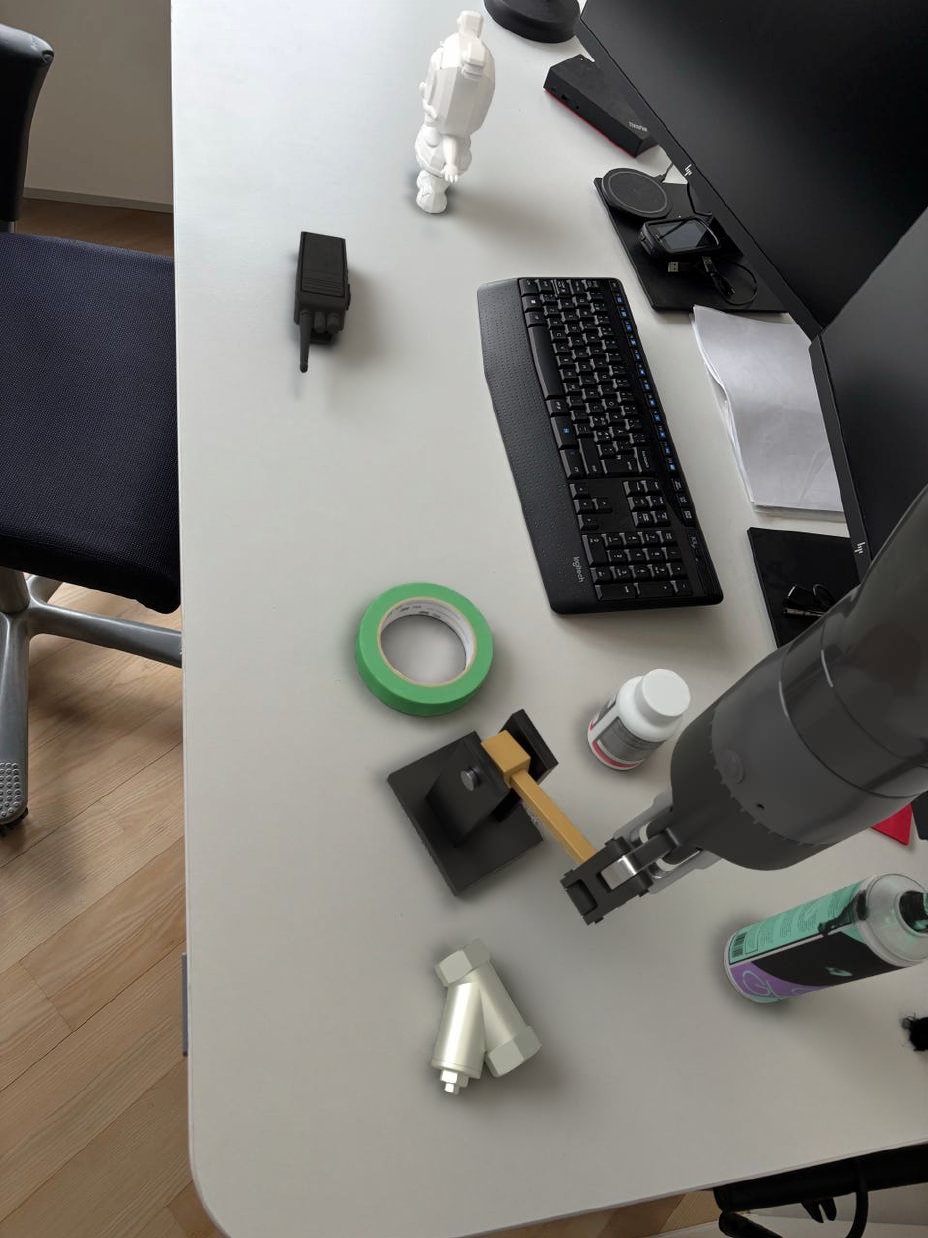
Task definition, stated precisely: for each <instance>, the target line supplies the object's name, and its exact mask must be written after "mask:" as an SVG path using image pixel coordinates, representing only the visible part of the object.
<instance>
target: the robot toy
mask: <svg viewBox="0 0 928 1238" xmlns="http://www.w3.org/2000/svg"><path fill="white" fill-rule="evenodd" d="M483 25H484V16H483V14H481V13H480V12H476V11H473V10H469V9H465V10H461V13H460V16H458V17H457V19H456V26H457V28H458V30H457V31H456V32H454V33H453V34H451V35H450V36H448V37H446V38H445V40H444V41H442V40H440V42H439V48H438V49H437V50H435V51H433V53H432V55H431V57H430V60H429V65H428V69H427V72H426V79H425V81H421V83H420V84H419V86H418V91H419V92H418V93H419V94H420V96H421V97H422V107H423V111H424V121H423V124H422V126H421V127H420V130H419V131H418V133H417V136H416V139H415V142H414V154H415V160H416V162H417V163H418V165H419V166H420V168H421V169H422V170H420V172H419V174H418V177H417V179H416V186H417V189H418V190H419V191H418V193H417V195H416V204H417V206H418V207H420V208H421V209H422V211H424V212H426V213H429V214H441V213H442V212H444V211H445V210H446V208H447V204H448V198H447V195H446V194H445V192H446V190H447V188H448V187H449V186H450V185H451V184H454V183H456V184H458V183H459V181H460V176H461V175H463V174H465V173H466V172H467V171H468V169H469V167H470V165H471V163H472V160H473V155H472V151H471V145H472V138H471V136H472V135H473V134H475V133H476V132H477V131H478V130H480V129H481V128H482V127H483V124H484V122H485V120H486V117H487V116H488V112H489V110H490V107H491V104H492V102H493V98H494V95H495V90H496V66H495V62H496V61H495V59H494V58H495V57H493V54H492V52H491V50H490V48H489V47H488V45H487V44H486V43H485V42H484V41H483V40H482V39H481V37H480V36H482V31H483Z"/></svg>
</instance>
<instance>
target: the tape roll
mask: <svg viewBox="0 0 928 1238" xmlns="http://www.w3.org/2000/svg"><path fill="white" fill-rule="evenodd" d="M480 611H481V610H479V609H478V607H476V605H475V604H474V603H472V602H471V601H470V599H468V598H466V597H465V596H464V595H462V594H461V593H459V592H458V591H456V590H454V589H451V588H449V587H447V586H443V585H440V584H437V583H432V582H431V583H430V582H410V583H405V584H400V585H397V586H394V587H391V588H389V589H388V590H385V591H384V592H382V593H381V594H380V595H379V596H377V597H376V598H375V599H374V600H373V601H372V602H371V603H370V604H369V606H368V607H367V609H366V610H365V612H364V614H363V617H362V619H361V622H360V625H359V627H358V632H357V635H356V639H355V646H354V647H355V648H354V657H355V663H356V667H357V670H358V672H359V675H360V677H361V679H362V681H363V682H364V683H365V685H366V687H367V688H368V690H369V691H370V692H371V693H372V694H373V695H374V696H375V697H376V698H378V699H379V701H380V702H382V703H384V704H385V705H387V706H388V707H390V708H392V709H394V710H396V711H398V712H402V713H404V714H408V715H412V716H417V717H418V716H419V717H434V716H440V715H444V714H445V715H446V714H448V713H450V712H454V711H456V710H457V709H458V710H459V708H461V707H463V706H464V705H465V704H467V703H468V702H469V701H470V700H471V699H472V698H473V697H474V695H476V693H477V692H478V690H479V689H480V688H481V686H482V684H483V683H484V681H485V679H486V678H487V676H488V674H489V672H490V669H491V667H492V663H493V659H494V658H493V657H494V641H493V636H492V632H491V629H490V626H489V624H488V621H487V620H486V618H485V617H484V615H483V614H482V612H480ZM410 615H422V616H423V615H424V616H429V617H433V618H435V619H438V620H439V621H442V622H443V623H445V624H446V625H448V626H449V627H450V628H451V629H452V630H453V631H454V632H455V633H456V634H457V635H458V637H459V638H460V640H461V642H462V644H463V648H464V650H465V655H466V656H465V658H466V661H465V668H464V670H462V672H460V674H458V675H457V676H456V677H454V678H451V679H450V680H447V681H445V682H439V683H428V682H427V683H426V682H422V681H421V682H420V681H416V680H414V679H410V678H409V677H407V676H405V675H404V674H403V673H401V672H400V671H399V670H398V669H396V668H394V667H393V665H392V664H391V663H390V662H389V661H388V659H387V657H386V655H385V653H384V651H383V648H382V642H381V635H382V632H383V631H384V629H386V628H387V626H389V625H390V623H391V624H392V622H393V621H395V620H398V619H399V618H402V617H406V616H410Z"/></svg>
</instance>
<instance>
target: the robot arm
mask: <svg viewBox="0 0 928 1238" xmlns="http://www.w3.org/2000/svg"><path fill="white" fill-rule="evenodd" d="M674 744H675V745H674V746H673V750H672V753H671V759H670V765H669V766H670V767H669V776H670V786H669V787H668V788H666V789H665V790H663V791H662V792H660V793H659V794H657V795H656V796H655V797H654V798H653V802H652V805H651V806H650V807H649V808H647V809H645V810H644V811H642V812H641V813H640V814H638V815H637V816H635V817H634V818H633V819H631V820H630V821H628V822H627V823H625V824H624V825H622V826H621V827H619V828H618V829H616V830H615V831H614V832H613V835H612V837H611V838H609V839H608V840H607V841H606V842H604V847H602V848H601V849H600V850H598V851H597V853H596V854H595V855H593V856H592V857H591V858H589V859H588V860H587V861H585V862H584V863H583V864H581V865H580V866H579V865H578V866H577V867H576V868H575V869H573V868H571V869H569V870H568V871H567V872H564V874H563V876H564V877H563V878H561V879H560V880H559V883H560V885H561V886H562V888H563V890H564V891H565V892H566V894H567V895H568V897H569V899H570V900H571V902H572V904H573V906H574V907H575V909H576V910H577V911H578V912H577V913H579V915H580V917H582V921H584V923H585V925H586V926H587V927H588V926H590V925H592V924H593V923H594V925H597V924H599V923H600V922H602V921H603V920H605V918H604V916H606V915H608V914H609V913H611V912H613V911H615V910H616V909H620V908H622V907H624V906H625V905H626V904H627V902H629V901H631V900H633V899H634V898H636V897H637V896H638V897H639V898H642V897H644V896H645V895H647V894H650V895H656V894H658V893H660V892H661V891H663V890H665V889H666V888H668V887H670V886H671V885H672V884H674V883H676V882H677V881H679V880H680V879H682V878H684V877H685V876H686V875H688V874H690V873H691V872H693V871H695V870H706V869H708V868H709V867H711V866H713V865H715V864H716V863H718V862H720V861H721V860H722V859H723V860H725V861H727V862H729V863H731V864H732V865H733V864H734V865H735V866H739V867H741V868H745V869H749V870H753V871H761V872H762V871H763V872H771V871H779V870H784V869H788V868H790V867H793V866H795V865H797V864H799V863H801V862H803V861H805V860H807V859H809V858H811V857H814V856H815V855H817V854H819V853H822V852H823V851H825V850H828V849H830V848H832V847H833V846H834V847H835V845H838V844H839V843H842V842H844V841H845V840H848V839H850V838H851V837H853V836H857V834H859V833H862V832H863V831H866V830H868V829H870V828H872V827H874V826H876V825H878V824H880V823H882V822H884V821H885V820H887V819H889V818H891V817H892V816H894V815H896V814H897V813H898V812H900V811H902V810H903V809H904V808H905V807H907V806H908V805H909V804H910V803H912V802H913V801H914V800H916V798H918V797H919V796H920V795H922V794H923V793H925V792H927V791H928V483H927V484H926V485H925V486H924V488H923V489H921V491H920V492H919V493H918V495H917V496H916V497H915V499H914V500H913V501H912V502H911V504H910V505H909V506H908V507H907V510H906V511H905V512H904V514H903V515H902V517H901V518H900V520H899V521H898V523H897V524H896V526H895V527H894V528H893V530H892V532H891V533H890V534H889V536H888V538H887V539H886V540H885V542H884V544H883V545H882V546H881V548H880V549H879V551H878V552H877V554H876V555H875V557H874V558H873V560H872V562H871V563H870V565H869V567H868V569H867V571H866V573H865V574H864V577H863V578H862V581H861V582H860V584H859V585H857V586H856V587H854V588H852V590H850V591H849V592H848V593H847V594H845V595H844V596H843V597H842V598H840V600H838V601H837V602H836V603H835V604H834V605H832V606H831V607H830V608H829V609H828V610H827V611H826V612H825V613H823V614H822V615H821V616H820V617H819V618H818V619H817V620H815V621H814V622H813V623H812V624H811V625H809V627H808V628H806V629H805V630H804V631H803V632H802V633H801V634H799V635H798V636H797V637H795V638H794V639H793V640H791V641H789V642H788V643H786V644H784V645H782V646H781V647H779V648H777V649H775V650H773V651H772V652H771V653H769V654H768V655H767V656H765V657H764V658H763V659H762V660H760V661H759V662H757V663H756V664H755V665H754V666H753V667H751V669H749V670H748V671H747V672H746V673H745V674H744V675H742V677H740V678H739V679H738V680H737V681H736V682H735V683H733V685H731V686H730V687H729V688H728V689H727V690H726V691H725V692H724V693H722V694H721V695H720V696H719V697H718V698H717V699H715V700H714V702H713V703H711V704H710V705H709V706H708V707H707V708H706V709H705V710H703V711H702V712H701V713H700V714H699V715H697V716H696V718H694V719H693V720H692V721H691V722H690V723H689V724H688V725H687V726H686V727H685V728H684V729H683V730H682V732H681V733H680V735H679V736H678V738H677V740H676V742H675V743H674ZM644 826H646V829H645V836H646V838H647V840H646V841H644V842H643V841H642V839H641V837H640V833H641V829H642V828H644ZM659 859H660V860H661V861H663V862H664V863H665V864H667V865H670V866H675V867H673V868H672V869H669V870H665V869H662V868H661V867H660V866H659V865H658V863H657V861H658V860H659ZM676 865H677V866H676Z"/></svg>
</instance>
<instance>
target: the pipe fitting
mask: <svg viewBox="0 0 928 1238" xmlns="http://www.w3.org/2000/svg"><path fill="white" fill-rule="evenodd" d="M490 960H491V954H490V953H489V951H488V949H487V948H486V946H485V944H484V942H483V940H482V939H481V938H475V939H474V940H472V941H471V942H469V943H468V944H466V945H464V946H462V947H461V948H460V949H458V950H456V951H455V952H453V953H452V954H450V955H448V956H447V957H445V958H444V959H442V960H441V961H440V962H438V963H437V964H435V965H434V971H435V973H436V974H437V976H438V978H439V981H440V982H441V984H442V986H443V987H444V988H447V989H448V990H447V995H446V999H445V1002H444V1007H443V1011H442V1016H441V1021H440V1024H439V1029H438V1033H437V1037H436V1042H435V1046H434V1051H433V1055H432V1059H431V1067H433V1068H435V1069H438V1070H441V1071H440V1075H439V1082H442V1083H445V1085H444V1088H443V1089H444V1092H447V1093H450V1094H454V1095H458V1094H459V1091H460V1088H467V1087H468V1083H469V1078H471V1079H477V1080H479V1079H481V1076H482V1071H483V1067H484V1063H485V1064H486V1065H487V1068H488V1069H489V1071H490V1073H491V1075H492V1076H493V1077H495V1078H500V1077H502V1076H504V1075H506V1074H508V1073H509V1072H511V1071H513V1070H514V1069H515V1068H517V1067H518V1066H520V1065H522V1064H523V1063H525V1062H526V1061H527V1060H529V1059H530V1058H531V1057H533V1056H534V1055H535V1054H536V1053H538V1051H540V1049H541V1047H542V1043H541V1041H540V1040H539V1038H538V1037H537V1035H536V1033H535V1031H534V1029H533V1028H532V1026H530V1025H526V1023H525V1021H524V1019H523V1018H522V1016H521V1014H520V1012H519V1011H518V1008H517V1007H516V1005H515V1004H514V1002H513V1000H512V998H511V996H510V994H509V993H508V991H507V989H506V988H505V986H504V984H503V983H502V981H501V979H500V977H499V976H498V973H497V972H496V970H495V968H494V967H493V965H492V963H491V961H490Z"/></svg>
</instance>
